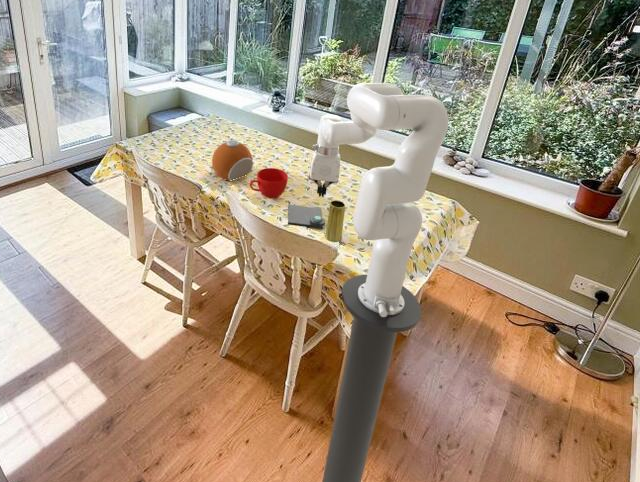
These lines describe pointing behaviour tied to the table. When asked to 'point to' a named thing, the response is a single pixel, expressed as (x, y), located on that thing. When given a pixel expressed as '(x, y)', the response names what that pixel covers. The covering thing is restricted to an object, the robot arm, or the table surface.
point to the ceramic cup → (271, 182)
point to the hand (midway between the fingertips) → (321, 195)
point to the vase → (335, 221)
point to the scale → (305, 216)
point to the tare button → (317, 219)
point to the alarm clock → (232, 160)
